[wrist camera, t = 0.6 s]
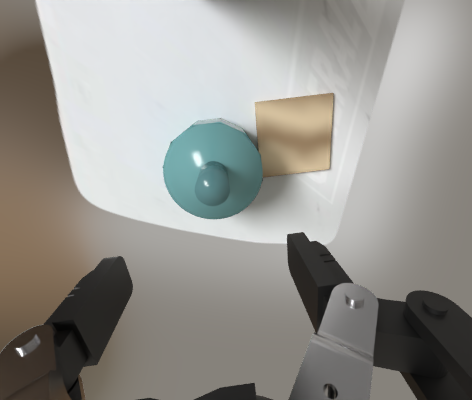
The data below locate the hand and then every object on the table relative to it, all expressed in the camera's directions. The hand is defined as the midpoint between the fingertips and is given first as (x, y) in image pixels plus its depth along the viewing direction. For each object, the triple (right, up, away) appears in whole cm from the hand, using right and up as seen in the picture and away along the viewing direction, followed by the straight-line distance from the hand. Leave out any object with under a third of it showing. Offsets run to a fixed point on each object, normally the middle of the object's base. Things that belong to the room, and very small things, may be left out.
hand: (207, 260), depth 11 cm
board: (+10, +12, +22) cm, 27 cm away
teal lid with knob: (-2, +9, +22) cm, 24 cm away
